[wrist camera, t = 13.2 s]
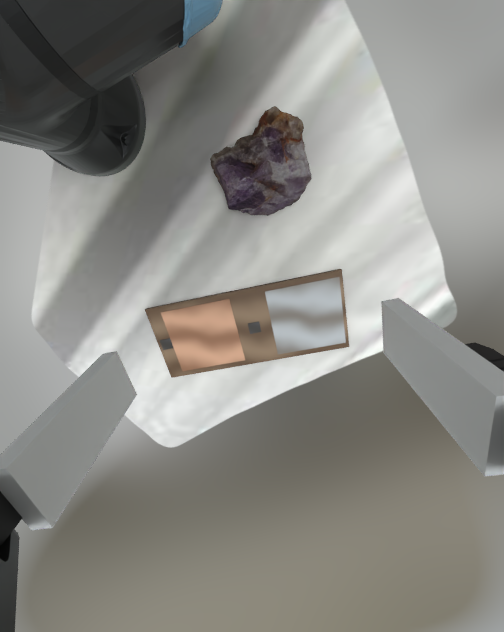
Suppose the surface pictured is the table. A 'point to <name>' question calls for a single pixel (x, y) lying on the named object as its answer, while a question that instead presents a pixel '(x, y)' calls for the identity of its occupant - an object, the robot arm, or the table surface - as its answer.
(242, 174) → the rock
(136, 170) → the table surface
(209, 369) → the board
